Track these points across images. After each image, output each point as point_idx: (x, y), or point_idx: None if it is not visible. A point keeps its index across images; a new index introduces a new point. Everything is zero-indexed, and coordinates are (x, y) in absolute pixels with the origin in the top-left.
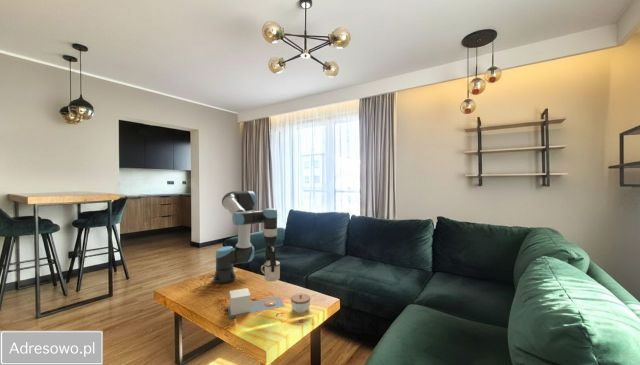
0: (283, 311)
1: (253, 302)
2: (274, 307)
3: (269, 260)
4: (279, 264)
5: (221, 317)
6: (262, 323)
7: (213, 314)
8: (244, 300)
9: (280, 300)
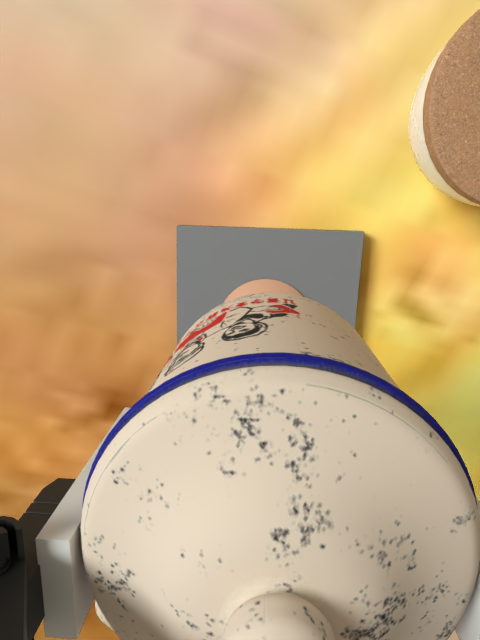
0: (398, 257)
1: None
2: (342, 314)
3: (41, 568)
4: (405, 403)
5: None
6: (476, 427)
7: None
8: None
9: (248, 237)
